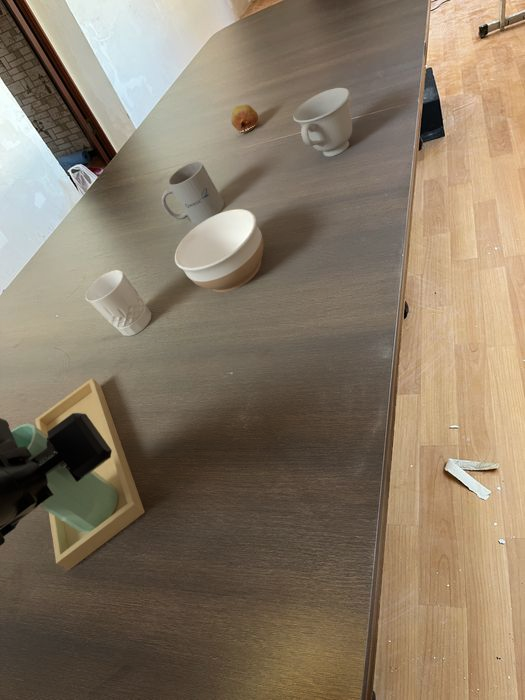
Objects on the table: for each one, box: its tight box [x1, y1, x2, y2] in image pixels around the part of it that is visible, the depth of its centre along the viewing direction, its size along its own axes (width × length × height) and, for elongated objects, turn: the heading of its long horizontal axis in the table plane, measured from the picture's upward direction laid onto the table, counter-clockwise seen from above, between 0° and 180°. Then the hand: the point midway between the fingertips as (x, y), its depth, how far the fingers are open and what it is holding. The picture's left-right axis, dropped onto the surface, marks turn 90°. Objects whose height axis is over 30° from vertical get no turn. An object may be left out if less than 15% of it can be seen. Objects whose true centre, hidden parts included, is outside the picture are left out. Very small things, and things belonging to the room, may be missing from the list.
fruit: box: [230, 104, 259, 134], centre depth 132 cm, size 7×7×10 cm
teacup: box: [292, 87, 353, 158], centre depth 101 cm, size 12×15×10 cm
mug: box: [161, 160, 225, 225], centre depth 109 cm, size 12×9×10 cm
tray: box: [34, 377, 145, 571], centre depth 72 cm, size 30×12×2 cm, turn 29°
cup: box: [10, 422, 118, 533], centre depth 61 cm, size 7×7×15 cm
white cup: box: [85, 269, 152, 337], centre depth 90 cm, size 8×8×10 cm
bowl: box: [174, 208, 265, 293], centre depth 88 cm, size 16×16×8 cm
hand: (55, 474), depth 61 cm, fingers closed on cup, 7 cm apart
